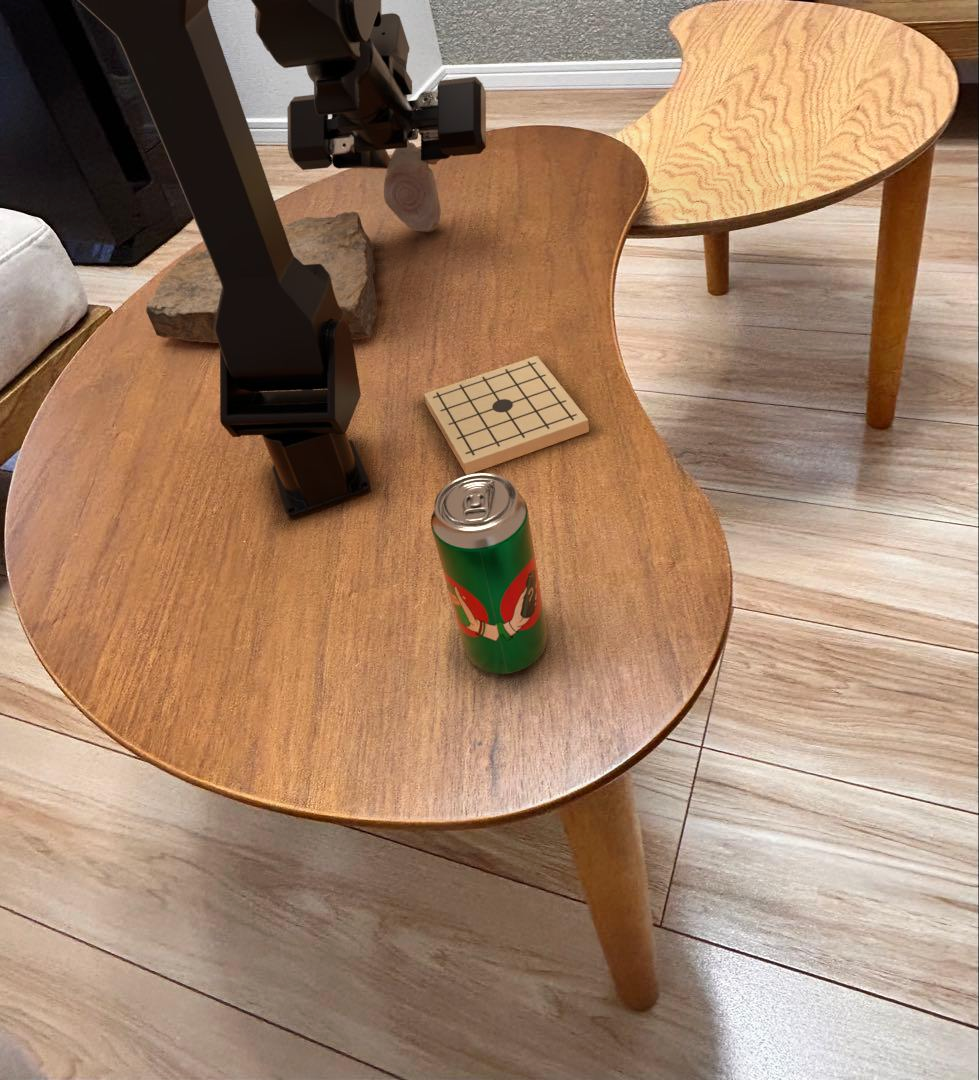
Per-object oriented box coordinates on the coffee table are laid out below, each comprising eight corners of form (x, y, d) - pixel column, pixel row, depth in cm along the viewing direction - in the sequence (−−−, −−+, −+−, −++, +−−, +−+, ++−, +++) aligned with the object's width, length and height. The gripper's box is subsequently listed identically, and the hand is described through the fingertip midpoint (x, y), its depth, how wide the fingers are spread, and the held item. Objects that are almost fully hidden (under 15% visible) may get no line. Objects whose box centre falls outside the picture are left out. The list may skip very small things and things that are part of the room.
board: (589, 432, 65) (588, 418, 64) (466, 475, 64) (463, 463, 63) (538, 367, 72) (537, 354, 71) (426, 405, 71) (423, 392, 70)
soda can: (544, 608, 54) (522, 461, 45) (551, 674, 50) (528, 528, 42) (464, 617, 54) (427, 474, 46) (465, 684, 51) (425, 541, 42)
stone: (154, 355, 83) (134, 314, 79) (222, 256, 96) (207, 217, 93) (368, 344, 79) (356, 300, 75) (408, 241, 92) (399, 200, 89)
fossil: (392, 241, 93) (367, 147, 86) (403, 226, 95) (380, 132, 88) (442, 240, 91) (421, 144, 84) (452, 224, 93) (433, 129, 86)
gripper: (465, -25, 72) (500, 72, 87) (257, 4, 76) (326, 92, 91) (465, 111, 72) (500, 184, 87) (257, 132, 76) (326, 199, 91)
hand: (411, 161), depth 89 cm, fingers closed on fossil, 4 cm apart
